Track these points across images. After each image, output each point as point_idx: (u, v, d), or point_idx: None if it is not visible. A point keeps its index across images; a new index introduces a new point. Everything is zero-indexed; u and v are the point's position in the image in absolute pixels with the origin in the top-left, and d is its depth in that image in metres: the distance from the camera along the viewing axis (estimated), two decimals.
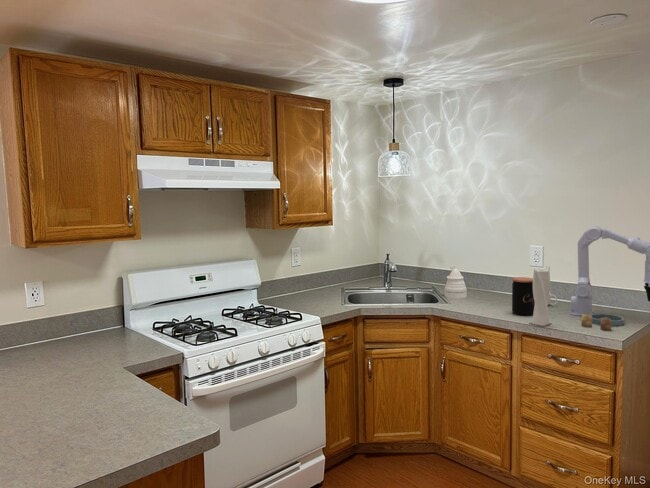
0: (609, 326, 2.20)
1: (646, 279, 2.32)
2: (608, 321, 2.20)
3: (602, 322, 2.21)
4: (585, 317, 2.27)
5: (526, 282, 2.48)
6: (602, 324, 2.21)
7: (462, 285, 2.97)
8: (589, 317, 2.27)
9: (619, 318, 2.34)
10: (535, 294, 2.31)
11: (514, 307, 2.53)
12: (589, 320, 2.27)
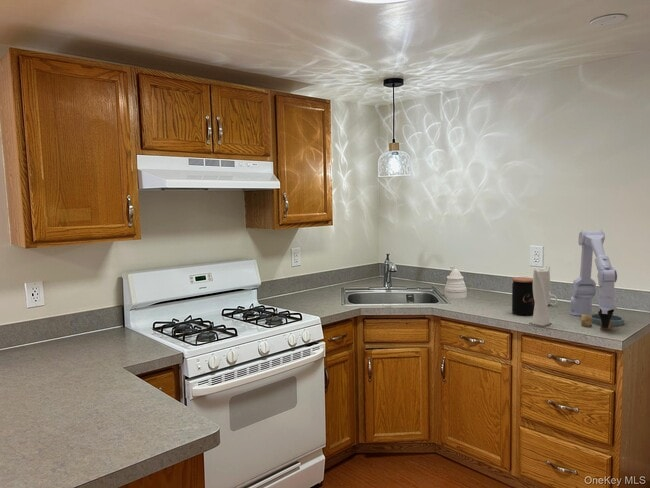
0: (609, 326, 2.20)
1: (600, 305, 2.21)
2: None
3: None
4: (585, 317, 2.27)
5: (526, 282, 2.48)
6: None
7: (462, 285, 2.97)
8: (589, 317, 2.27)
9: (619, 318, 2.34)
10: (535, 294, 2.31)
11: (514, 307, 2.53)
12: (589, 320, 2.27)
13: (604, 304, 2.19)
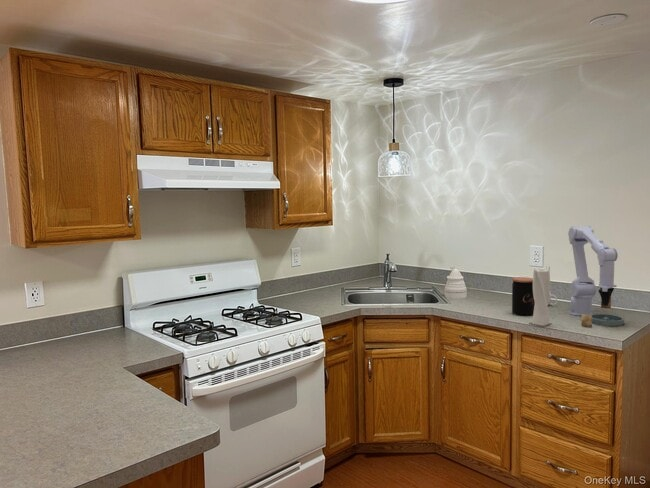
0: (609, 304, 2.28)
1: (601, 283, 2.29)
2: None
3: None
4: (585, 317, 2.27)
5: (526, 282, 2.48)
6: None
7: (462, 285, 2.97)
8: (589, 317, 2.27)
9: (619, 318, 2.34)
10: (535, 294, 2.31)
11: (514, 307, 2.53)
12: (589, 320, 2.27)
13: (605, 282, 2.27)
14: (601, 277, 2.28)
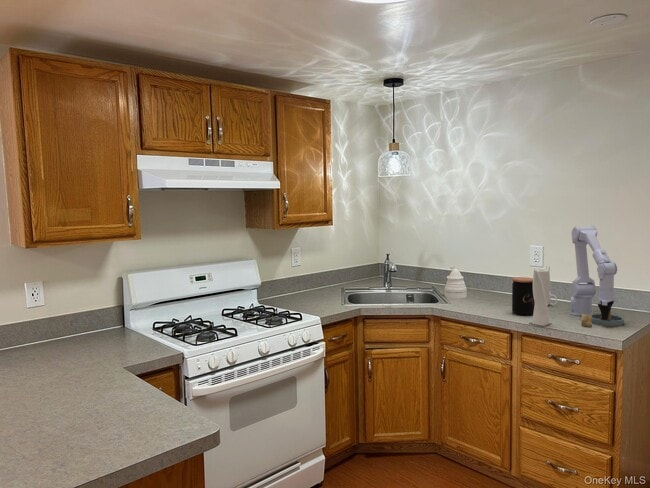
0: (609, 319, 2.29)
1: (600, 297, 2.29)
2: None
3: None
4: (585, 317, 2.27)
5: (526, 282, 2.48)
6: None
7: (462, 285, 2.97)
8: (589, 317, 2.27)
9: (619, 318, 2.34)
10: (535, 294, 2.31)
11: (514, 307, 2.53)
12: (589, 320, 2.27)
13: (604, 295, 2.28)
14: (601, 291, 2.29)
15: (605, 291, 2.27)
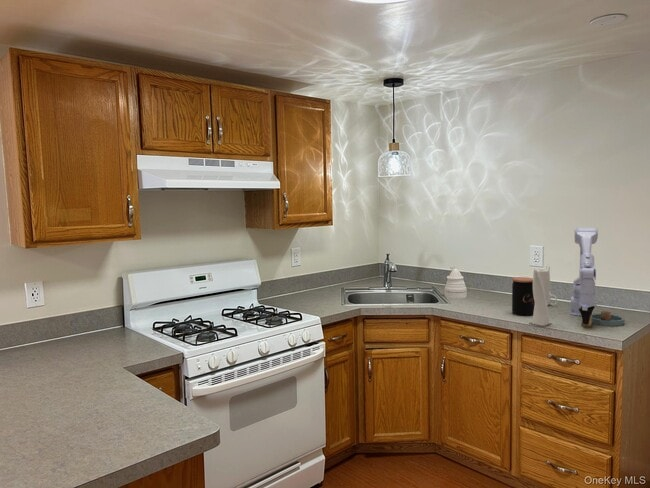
0: (609, 319, 2.29)
1: (581, 302, 2.27)
2: (608, 314, 2.29)
3: (602, 315, 2.30)
4: None
5: (526, 282, 2.48)
6: (602, 317, 2.30)
7: (462, 285, 2.97)
8: None
9: (619, 318, 2.34)
10: (535, 294, 2.31)
11: (514, 307, 2.53)
12: (589, 320, 2.27)
13: (585, 300, 2.26)
14: (581, 295, 2.27)
15: (585, 296, 2.25)
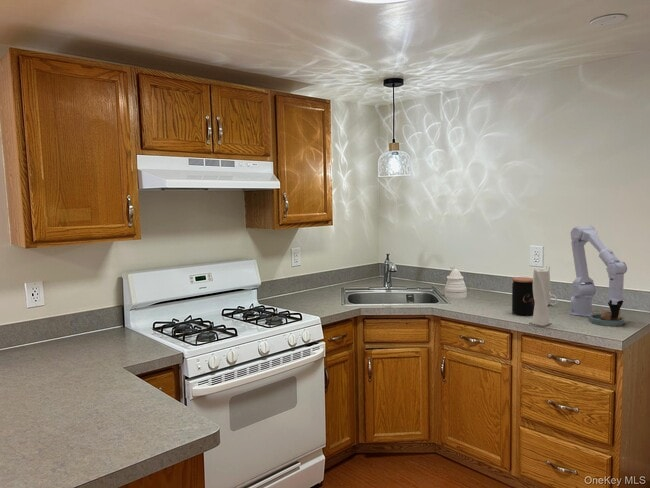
0: (609, 319, 2.29)
1: (610, 296, 2.30)
2: (608, 314, 2.29)
3: (602, 315, 2.30)
4: None
5: (526, 282, 2.48)
6: (602, 317, 2.30)
7: (462, 285, 2.97)
8: None
9: None
10: (535, 294, 2.31)
11: (514, 307, 2.53)
12: None
13: (614, 295, 2.29)
14: (611, 290, 2.30)
15: (615, 290, 2.28)
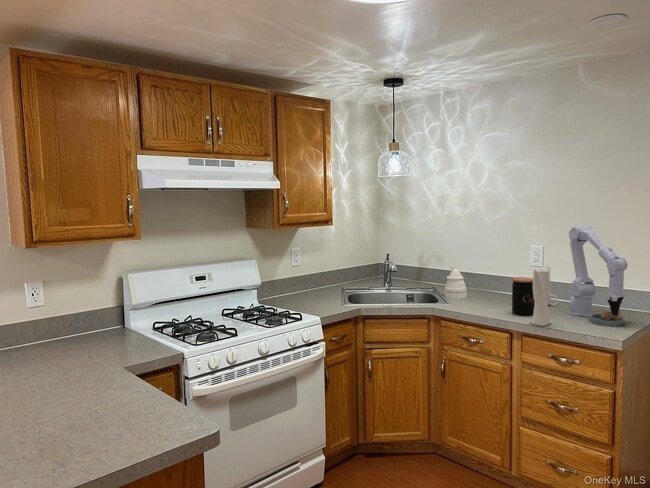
0: (609, 319, 2.29)
1: (610, 293, 2.30)
2: (608, 314, 2.29)
3: (602, 315, 2.30)
4: None
5: (526, 282, 2.48)
6: (602, 317, 2.30)
7: (462, 285, 2.97)
8: (618, 313, 2.30)
9: None
10: (535, 294, 2.31)
11: (514, 307, 2.53)
12: (618, 316, 2.30)
13: (614, 291, 2.29)
14: (611, 286, 2.30)
15: (615, 287, 2.28)
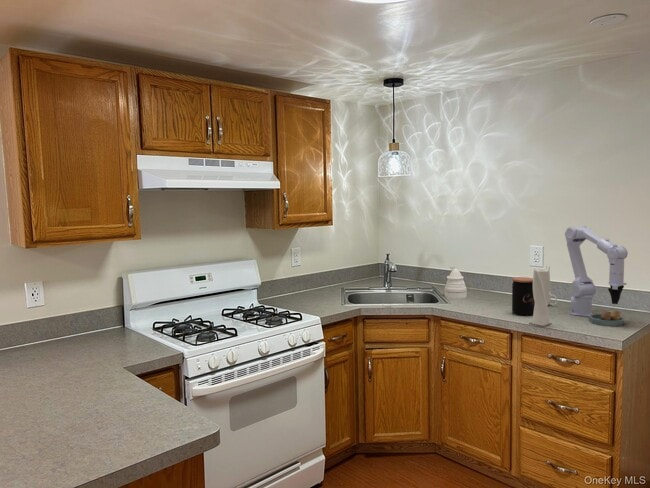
0: (609, 319, 2.29)
1: (610, 281, 2.30)
2: (608, 314, 2.29)
3: (602, 315, 2.30)
4: (614, 313, 2.30)
5: (526, 282, 2.48)
6: (602, 317, 2.30)
7: (462, 285, 2.97)
8: (618, 313, 2.30)
9: None
10: (535, 294, 2.31)
11: (514, 307, 2.53)
12: (618, 316, 2.30)
13: (614, 280, 2.28)
14: (611, 275, 2.29)
15: (615, 275, 2.28)
